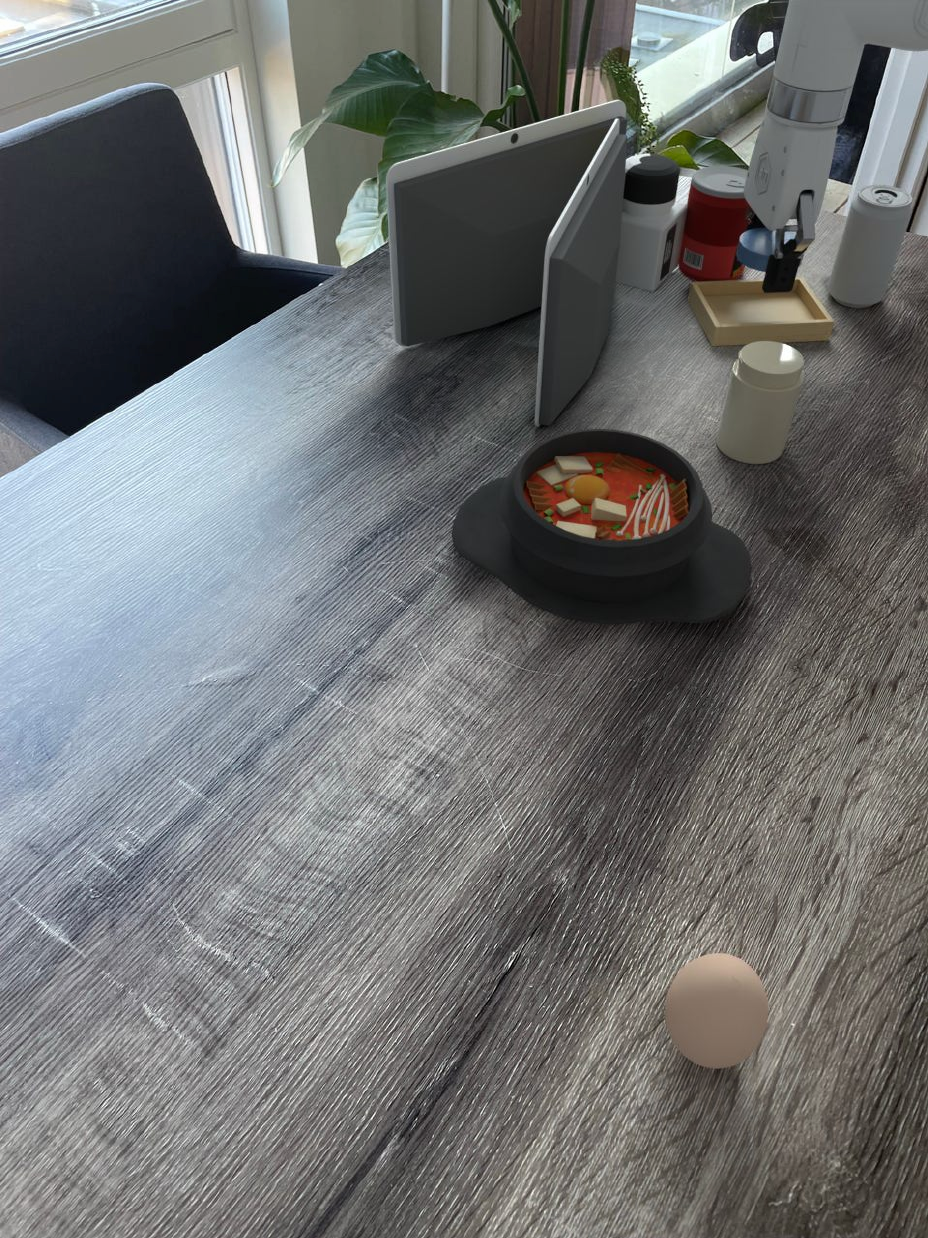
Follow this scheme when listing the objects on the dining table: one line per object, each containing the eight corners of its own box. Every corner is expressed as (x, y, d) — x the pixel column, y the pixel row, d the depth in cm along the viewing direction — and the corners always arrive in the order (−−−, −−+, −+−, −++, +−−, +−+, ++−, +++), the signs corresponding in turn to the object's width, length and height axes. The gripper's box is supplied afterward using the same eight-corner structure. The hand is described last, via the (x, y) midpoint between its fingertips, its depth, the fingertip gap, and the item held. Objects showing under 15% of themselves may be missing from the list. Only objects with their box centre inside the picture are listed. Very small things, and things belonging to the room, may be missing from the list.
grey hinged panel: (572, 438, 97) (592, 243, 83) (360, 402, 101) (346, 210, 87) (630, 273, 120) (653, 99, 106) (457, 249, 124) (457, 79, 110)
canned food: (744, 288, 118) (765, 194, 110) (676, 282, 119) (691, 189, 111) (742, 258, 123) (761, 167, 115) (676, 253, 124) (691, 162, 116)
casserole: (764, 531, 87) (787, 452, 81) (721, 681, 75) (745, 601, 69) (496, 465, 93) (499, 387, 87) (417, 593, 81) (414, 514, 75)
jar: (771, 423, 99) (794, 336, 92) (792, 462, 94) (819, 374, 87) (708, 426, 98) (727, 340, 91) (726, 466, 94) (748, 378, 87)
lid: (729, 265, 106) (733, 248, 105) (744, 238, 111) (747, 222, 109) (794, 278, 104) (798, 261, 103) (806, 250, 109) (811, 234, 107)
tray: (797, 295, 117) (802, 276, 115) (828, 340, 110) (834, 321, 108) (687, 300, 116) (690, 281, 114) (711, 346, 109) (715, 327, 107)
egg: (743, 997, 58) (776, 930, 52) (756, 1091, 54) (793, 1031, 49) (652, 991, 58) (675, 923, 52) (659, 1085, 55) (684, 1024, 49)
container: (678, 266, 121) (697, 156, 111) (653, 293, 116) (670, 180, 107) (620, 251, 123) (633, 141, 114) (593, 276, 119) (604, 164, 109)
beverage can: (886, 290, 118) (920, 188, 109) (877, 315, 114) (912, 211, 105) (831, 279, 119) (860, 177, 111) (820, 303, 115) (850, 200, 107)
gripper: (743, 69, 102) (709, 239, 114) (801, 133, 90) (756, 315, 102) (814, 68, 102) (772, 237, 115) (881, 131, 90) (826, 312, 103)
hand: (765, 272), depth 109 cm, fingers closed on lid, 6 cm apart
